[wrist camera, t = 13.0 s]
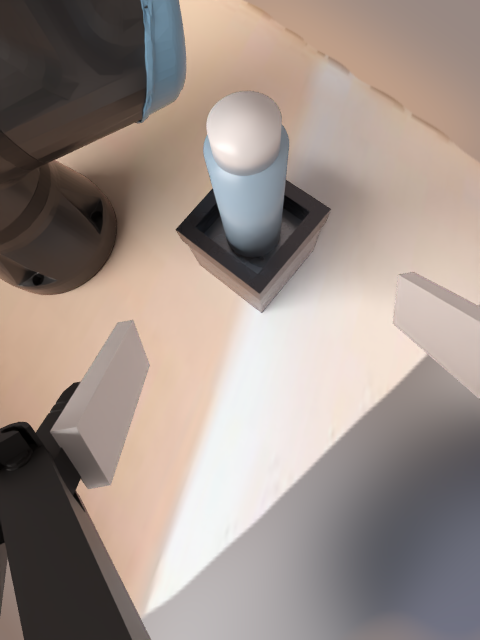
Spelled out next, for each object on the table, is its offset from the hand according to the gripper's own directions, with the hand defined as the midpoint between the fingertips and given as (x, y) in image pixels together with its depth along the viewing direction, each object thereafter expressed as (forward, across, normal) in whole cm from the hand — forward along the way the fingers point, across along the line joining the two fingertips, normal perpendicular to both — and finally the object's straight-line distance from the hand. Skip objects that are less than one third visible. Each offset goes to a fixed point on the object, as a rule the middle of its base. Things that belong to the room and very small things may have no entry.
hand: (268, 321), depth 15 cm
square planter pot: (+19, +2, -2) cm, 19 cm away
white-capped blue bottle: (+14, +1, +1) cm, 15 cm away
